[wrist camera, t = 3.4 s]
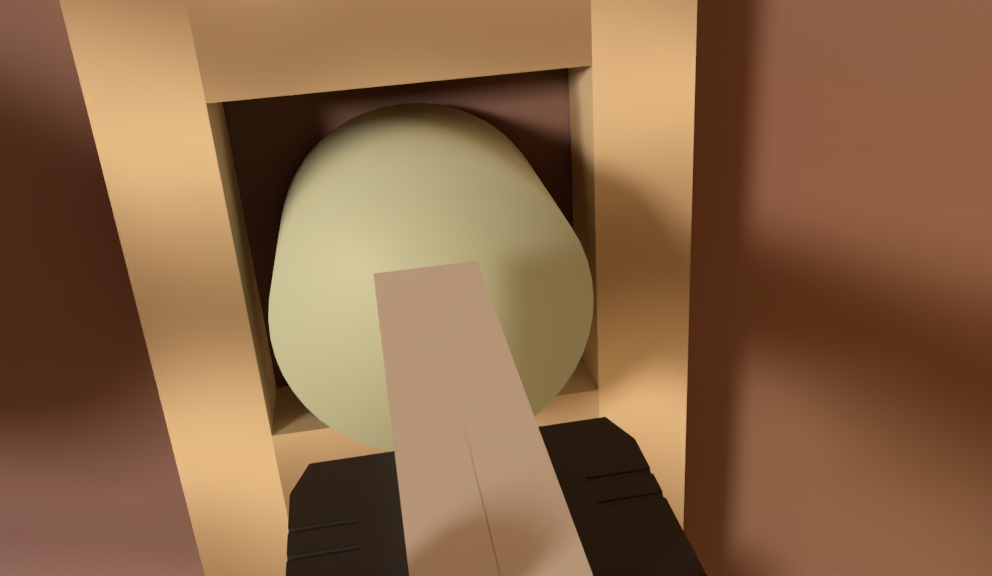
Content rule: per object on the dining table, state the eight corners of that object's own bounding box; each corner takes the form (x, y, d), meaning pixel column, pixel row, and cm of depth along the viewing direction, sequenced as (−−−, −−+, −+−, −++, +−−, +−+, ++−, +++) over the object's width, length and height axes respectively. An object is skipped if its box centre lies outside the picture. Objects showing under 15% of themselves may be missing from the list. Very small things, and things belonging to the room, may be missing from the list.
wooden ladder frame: (-81, -721, 13) (-147, -815, 11) (670, -719, 14) (718, -803, 13) (271, 754, 26) (266, 820, 24) (654, 685, 27) (677, 743, 25)
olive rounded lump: (259, 117, 18) (240, 180, 14) (541, 89, 19) (590, 143, 15) (302, 368, 20) (295, 475, 17) (551, 335, 21) (596, 431, 17)
